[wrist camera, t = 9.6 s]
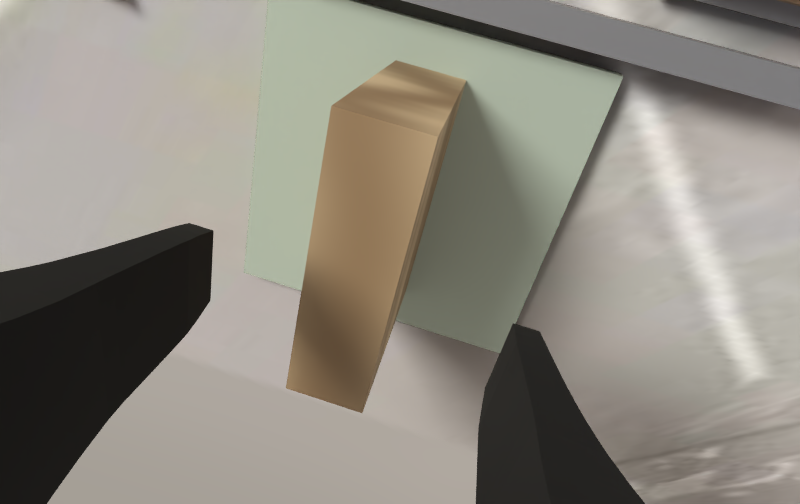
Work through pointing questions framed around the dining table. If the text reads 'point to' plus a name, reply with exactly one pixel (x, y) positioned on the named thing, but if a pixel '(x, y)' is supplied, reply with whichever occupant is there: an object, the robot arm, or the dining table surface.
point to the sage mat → (462, 166)
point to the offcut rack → (648, 41)
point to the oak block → (368, 226)
